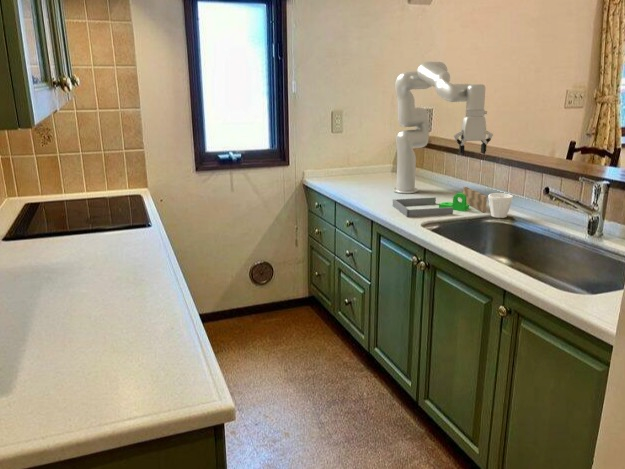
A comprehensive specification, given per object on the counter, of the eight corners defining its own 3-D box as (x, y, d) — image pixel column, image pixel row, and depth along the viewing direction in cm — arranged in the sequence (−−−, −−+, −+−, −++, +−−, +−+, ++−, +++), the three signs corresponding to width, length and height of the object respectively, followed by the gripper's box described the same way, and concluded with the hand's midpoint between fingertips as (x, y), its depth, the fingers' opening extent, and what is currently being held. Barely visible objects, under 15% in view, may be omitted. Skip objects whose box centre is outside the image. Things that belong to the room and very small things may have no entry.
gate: (462, 201, 252) (463, 187, 250) (465, 201, 252) (466, 186, 250) (482, 212, 232) (483, 196, 230) (485, 211, 232) (487, 196, 230)
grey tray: (392, 205, 247) (392, 199, 246) (434, 203, 250) (435, 197, 249) (407, 217, 227) (407, 210, 226) (452, 214, 230) (453, 207, 229)
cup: (516, 217, 223) (518, 196, 220) (500, 221, 218) (502, 199, 215) (497, 212, 231) (499, 191, 229) (481, 216, 226) (483, 194, 224)
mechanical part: (469, 209, 239) (470, 191, 237) (464, 211, 234) (465, 194, 232) (444, 205, 246) (445, 188, 243) (438, 208, 241) (439, 191, 239)
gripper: (490, 112, 231) (487, 152, 236) (452, 114, 229) (450, 153, 234) (497, 113, 224) (495, 154, 229) (458, 115, 222) (456, 155, 227)
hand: (472, 153), depth 232 cm, fingers open, 9 cm apart
